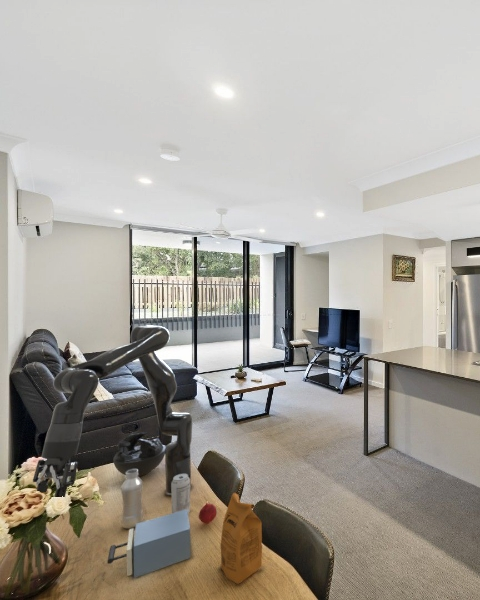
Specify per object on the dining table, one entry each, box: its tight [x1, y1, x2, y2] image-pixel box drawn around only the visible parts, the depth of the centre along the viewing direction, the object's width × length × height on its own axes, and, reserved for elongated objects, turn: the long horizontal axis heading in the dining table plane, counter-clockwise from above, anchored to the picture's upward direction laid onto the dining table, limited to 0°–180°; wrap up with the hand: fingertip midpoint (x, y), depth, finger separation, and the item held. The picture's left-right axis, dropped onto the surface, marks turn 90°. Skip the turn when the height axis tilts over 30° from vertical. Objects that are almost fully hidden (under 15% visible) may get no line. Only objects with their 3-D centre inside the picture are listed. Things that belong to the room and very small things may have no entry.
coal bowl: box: [112, 431, 166, 477], centre depth 169 cm, size 20×20×19 cm
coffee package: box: [219, 492, 263, 585], centre depth 111 cm, size 10×12×22 cm
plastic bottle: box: [120, 469, 145, 529], centre depth 132 cm, size 6×7×20 cm
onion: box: [198, 501, 218, 525], centre depth 133 cm, size 6×6×8 cm
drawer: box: [106, 527, 135, 577], centre depth 114 cm, size 18×11×8 cm, turn 124°
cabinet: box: [133, 509, 191, 578], centre depth 117 cm, size 15×13×10 cm
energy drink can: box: [171, 474, 191, 515], centre depth 138 cm, size 6×6×15 cm
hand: (48, 501), depth 100 cm, fingers open, 8 cm apart
